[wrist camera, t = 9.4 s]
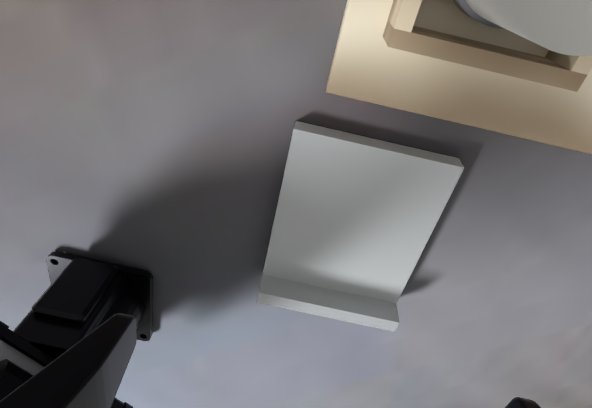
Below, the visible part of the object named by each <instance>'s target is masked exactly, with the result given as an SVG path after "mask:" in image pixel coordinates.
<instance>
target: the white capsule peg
mask: <svg viewBox="0 0 592 408" xmlns="http://www.w3.org/2000/svg"><path fill="white" fill-rule="evenodd" d="M453 1H454V2H455V4H456V5H457V7H458V8H459V9H460V10H461V11H462V12H463V13H465V14H466V15H467V16H469V17H471V18H473V19H475V20H477V21H479V22H480V23H482V24H484V25H487V26H490V27H493V28H499V29H507V30H509V31H511V32H513V33H515V34H517V35H519V36H521V37H523V38H526V39H528V40H530V41H532V42H534V43H536V44H538V45H540V46H542V47H544V48H546V49H549V50H551V51H554V52H557V53H560V54H565V55H571V56H586V55H592V0H453Z"/></svg>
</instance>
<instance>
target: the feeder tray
mask: <svg viewBox="0 0 592 408" xmlns="http://www.w3.org/2000/svg"><path fill="white" fill-rule="evenodd" d="M463 170H464V166H463V165H462V163H461V161H460V159H459V158H456V157H451V156H447V155H443V154H438V153H434V152H430V151H425V150H421V149H417V148H412V147H408V146H403V145H399V144H395V143H390V142H386V141H382V140H377V139H373V138H369V137H364V136H360V135H356V134H351V133H347V132H343V131H338V130H334V129H330V128H325V127H321V126H316V125H312V124H308V123H303V122H299V121H296V122H295V125H294V129H293V134H292V139H291V143H290V148H289V153H288V158H287V162H286V167H285V172H284V176H283V181H282V186H281V190H280V195H279V200H278V204H277V209H276V214H275V218H274V223H273V228H272V232H271V237H270V242H269V246H268V251H267V256H266V260H265V265H264V270H263V275H262V279H261V283H260V287H259V291H258V296H257V301H256V302H257V303H262V304H267V305H271V306H276V307H281V308H285V309H290V310H295V311H299V312H304V313H309V314H313V315H318V316H323V317H328V318H332V319H337V320H342V321H346V322H351V323H356V324H360V325H365V326H370V327H374V328H379V329H384V330H388V331H393V332H395V330H396V328H397V326H398V324H399V318H398V311H397V305H396V303H397V301H398V299H399V297H400V295H401V293H402V291H403V289H404V287H405V285H406V283H407V281H408V279H409V277H410V275H411V273H412V271H413V269H414V267H415V265H416V263H417V261H418V259H419V257H420V255H421V253H422V251H423V249H424V247H425V245H426V243H427V241H428V239H429V237H430V235H431V234H432V232H433V230H434V228H435V226H436V224H437V222H438V220H439V218H440V216H441V214H442V212H443V210H444V208H445V206H446V204H447V202H448V200H449V198H450V196H451V194H452V192H453V190H454V188H455V186H456V184H457V182H458V180H459V178H460V176H461V174H462V172H463Z"/></svg>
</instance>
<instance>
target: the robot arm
mask: <svg viewBox="0 0 592 408" xmlns="http://www.w3.org/2000/svg"><path fill="white" fill-rule="evenodd" d="M46 261H47V266H48V271H49V276H50V281H51V285H50V287H49V288H48V289H47V290H46V291H45V292H44V294H43V295H42V296H41V297H40V298H39V299H38V301H37V302H36V303H35V304H34V305H33V307H32V310H31V311H30V312H29V313H28V314H27V316H26V317H25V318H24V319H23V320H22V321H21V323H20V324H19V325H18V326H17V327H16V328H15V330H14V331H11V330H10V329H8V328H9V326H7V325H6V324H4V323H3V322H1V321H0V408H133V407H132V406H131V405H129V404H128V403H126V402H125V403H123V402H121V401H120V400H118V399H117V398H115V395H116V393H117V390H118V388H119V385H120V383H121V380H122V378H123V375H124V373H125V370H126V368H127V365H128V363H129V360H130V358H131V355H132V353H133V350H134V348H135V345H136V339H138V340H142V341H148V340H150V338H151V336H152V333H153V277H152V275H151V274H150V273H149V272H147V271H145V270H140V269H135V268H131V267H126V266H121V265H117V264H112V263H107V262H103V261H98V260H93V259H89V258H84V257H79V256H75V255H70V254H65V253H61V252H52V253H51V254H50V255H49V256H48V257H47V258H46ZM143 278H144V279H143ZM505 408H541V407H540V406H539V405H538V404H537V403H536V402H534V401H532V400H529V399H524V398H520V397H516V398H514V399H512V400H511V402H510V403H509V404H508V405H507V406H506V407H505Z"/></svg>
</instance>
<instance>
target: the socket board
mask: <svg viewBox="0 0 592 408" xmlns="http://www.w3.org/2000/svg"><path fill="white" fill-rule="evenodd" d="M326 92H327V93H331V94H336V95H340V96H344V97H349V98H353V99H357V100H361V101H366V102H370V103H374V104H379V105H383V106H387V107H392V108H396V109H400V110H404V111H409V112H413V113H417V114H422V115H426V116H430V117H434V118H439V119H443V120H447V121H452V122H456V123H460V124H465V125H469V126H473V127H477V128H482V129H486V130H490V131H495V132H499V133H503V134H508V135H512V136H516V137H520V138H525V139H529V140H533V141H538V142H542V143H546V144H550V145H555V146H559V147H563V148H568V149H572V150H576V151H581V152H585V153H589V154H592V55H586V56H571V55H565V54H560V53H557V52H554V51H551V50H549V49H546V48H544V47H542V46H540V45H538V44H536V43H534V42H532V41H530V40H528V39H526V38H523V37H521V36H519V35H517V34H515V33H513V32H511V31H509V30H507V29H499V28H493V27H490V26H487V25H484V24H482V23H480V22H479V21H477V20H475V19H473V18H471V17H469V16H467V15H466V14H465V13H463V12H462V11H461V10H460V9H459V8H458V7H457V5H456V4H455V2H454V1H453V0H347V3H346V7H345V11H344V15H343V20H342V24H341V28H340V32H339V36H338V40H337V44H336V48H335V52H334V56H333V60H332V64H331V68H330V72H329V76H328V80H327V85H326Z"/></svg>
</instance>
